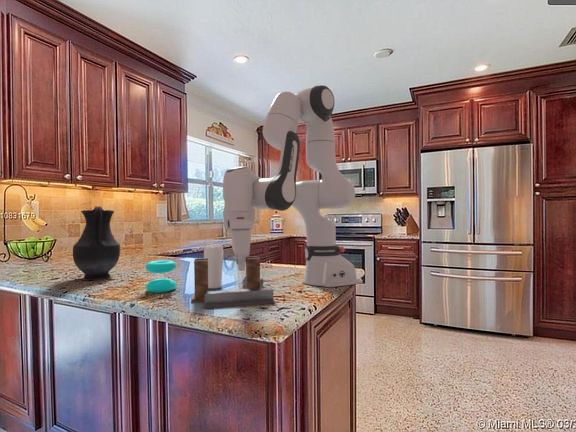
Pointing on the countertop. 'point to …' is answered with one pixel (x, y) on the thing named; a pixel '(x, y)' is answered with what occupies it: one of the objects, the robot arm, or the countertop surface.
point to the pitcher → (96, 245)
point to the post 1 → (200, 279)
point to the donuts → (161, 284)
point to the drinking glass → (214, 265)
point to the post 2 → (252, 272)
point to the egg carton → (245, 283)
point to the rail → (238, 295)
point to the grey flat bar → (239, 304)
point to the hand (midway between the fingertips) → (240, 267)
